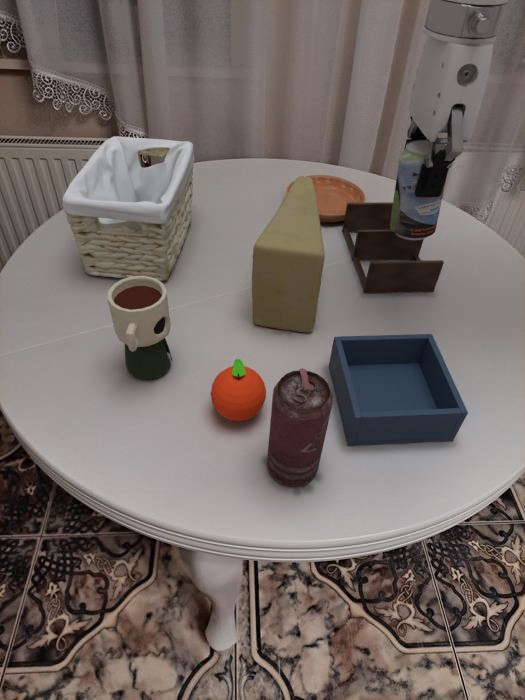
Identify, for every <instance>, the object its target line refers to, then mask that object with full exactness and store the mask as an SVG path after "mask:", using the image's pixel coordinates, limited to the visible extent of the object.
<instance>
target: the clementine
mask: <svg viewBox="0 0 525 700" xmlns="http://www.w3.org/2000/svg"><path fill="white" fill-rule="evenodd" d="M262 378H263V377H261V376H260V374H259V373H258V372H257V371H256V370H255V369H252V368H250V367H248V366H245V365H244V363H243V361H242V360H241V358H235V359H234V361H233V364H232V366H229V367H227V368H224V369H223V370H222V371H220V372H219V373H218V374H217V375H216V377H215V378H214V380H213V382H212V384H211V389H210V397H211V399H210V400H211V403H212V405H213V407H214V409H215V410H216V411H217V412H218V414H219V415H220V416H222V417H224V418H225V419H227V420H230V421H233V422H235V421H236V422H237V421H238V422H241V421H247V420H250V419H252V418H253V417H255V416H256V415H257V414H258V413H259V412H260V411H261V410H262V408H263V407H264V404H265V402H266V397H267V388H266V385H265V382H264V380H263V379H262Z"/></svg>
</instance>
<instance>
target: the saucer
mask: <svg viewBox="0 0 525 700" xmlns="http://www.w3.org/2000/svg"><path fill="white" fill-rule="evenodd" d="M304 177H310V178H312V180H313V184H314V189H315V193H316V198H317V203H318V210H319V218H320V223H328V224H329V223H339V222H344V217H345V211H346V206H347V203H366V195H365V192H364V191H363V189H362V188H361V187H360V186H358V185H357V184H356V183H354V182H352V181H350V180H348V179H345V178H342V177H339V176H334V175H328V174H312V175H306V176H304ZM294 182H295V180H293V181H292V182H290V183H289V184H288V185H287V187H286V189H285V197H286V196H287V194H288V192H289V190H290V188H291V187H292V185H293V183H294Z"/></svg>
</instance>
